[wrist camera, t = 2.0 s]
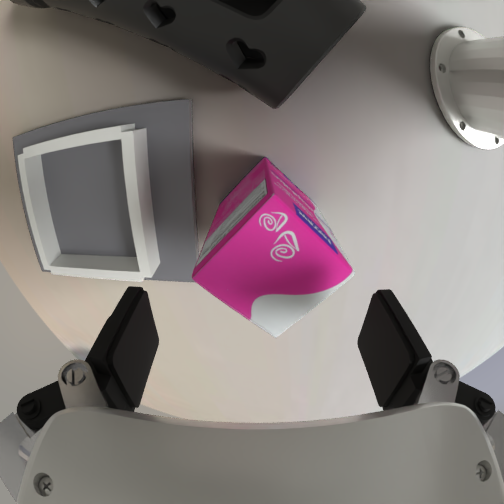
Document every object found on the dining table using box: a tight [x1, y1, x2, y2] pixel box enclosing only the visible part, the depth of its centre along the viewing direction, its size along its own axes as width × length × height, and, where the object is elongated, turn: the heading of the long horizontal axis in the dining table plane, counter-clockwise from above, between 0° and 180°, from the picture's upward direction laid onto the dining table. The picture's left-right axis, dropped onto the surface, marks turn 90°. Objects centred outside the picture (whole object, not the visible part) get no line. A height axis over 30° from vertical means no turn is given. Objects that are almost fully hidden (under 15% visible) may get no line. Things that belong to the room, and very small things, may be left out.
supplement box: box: [192, 157, 355, 338], centre depth 18 cm, size 6×6×12 cm
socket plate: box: [13, 99, 199, 282], centre depth 21 cm, size 20×16×4 cm
